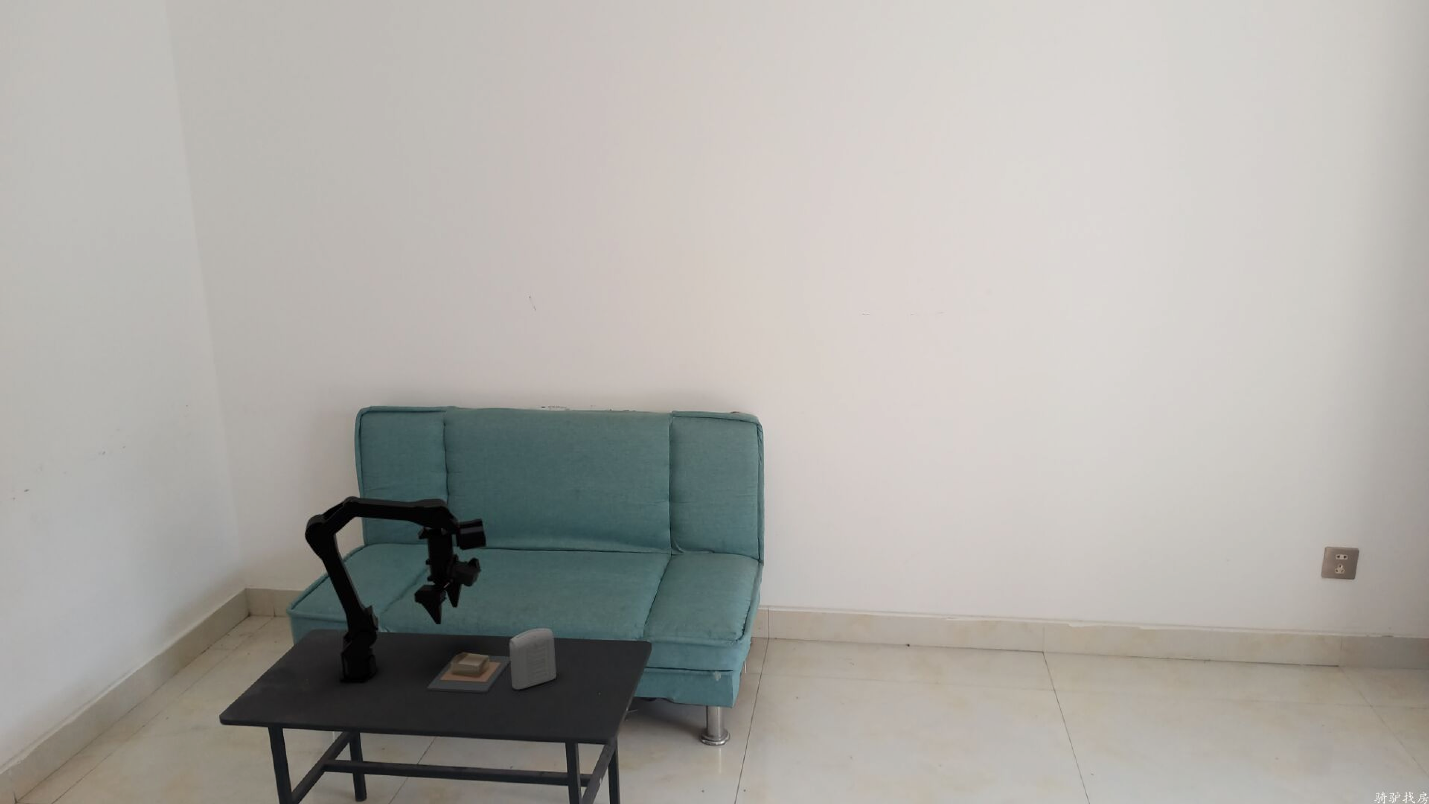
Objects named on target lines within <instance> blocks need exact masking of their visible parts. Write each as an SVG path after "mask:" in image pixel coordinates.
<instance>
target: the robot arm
mask: <svg viewBox="0 0 1429 804" xmlns="http://www.w3.org/2000/svg"><path fill="white" fill-rule="evenodd" d="M355 518H366V519H376V520H377V519H378V520H391V521H403V522H409V523H412V524H416V525H417V526H421V527H422V528H421V529H420V530H419V531H418V532H417V537H418V540H426V544H427V546H426V547H427V555H428V557H427V558H426V560H425V566H429V575H428V576H426V580H427V581H426V582H431V583H432V584H422V586H420V587H419V588H418V589H417V590H416V591H415V593H414V594H413V597H414V603H416V604H417V603H418V604H419V605H421V606H422V608H424V609H425V610H426V612H427V613H428V615H429V616H430V617H431V619H432V621H433V622H434V623H435V625H441V624H442V617H443V616H442V614H443V612H442V609H443V603H444V602H445V601H446V600H447V599H448V600H449V602H450V604H451V607H452V608H456V609H457V608H458V606H459V603H460V602H459V600H460V596H461V590H462V587H463V585H464V587H468V588H469V587H472V586H473V585H474V584H475V583H476V582H477V580H478V578H479V574H480V573H481V572H482V569H481V566H480V564H481V563H480V560H479V558H477V557H474V556H473V557H472V558H471V559H470V560H468V561H467V560H465V561H461V560H460V558H459V556H460V555H458V553H455V552H454V543H453V541H454V542H455V547H456V548H459V549H460V550H461V552H462V551H468V550H475V549H482V548H483V549H484V548H486V547H487V539H486V538H487V537H486V534H485V529H484V524H483V523H484V522H483V520H482V518H476V519H473V520H466V521H459V520H458V519H457V517H456V516H454V514H452V513H451V511H450V508H449V505H448V503H447V502H446V501H445V500H444V499H442V498H436V497H435V498H425V499H424V498H422V499H419V500H415V501H405V500H404V501H403V500H391V499H390V500H389V499H380V498H379V499H378V498H369V497H368V498H367V497H359V496H355V495H351V496H350V495H349V496H348V497H345V499H343V500H342V501H341V502H340V503H337V504H336V505H335V504H334V506H331V507H330V508H328V509H327V510H326V511H324V512H323V513H319V514H315V515H313V516H312V517H310V518H309V519H308V520H307V521H306V526H305V530H304V531H305V532H304V539H305V541H306V543H307V544H308V545H309V547H310V548H311V550H312V551H313V553H314V554H315V555H316V556H317V557H318V558H319V559H320V560H321V561H322V564H323V566H324V567H325V571H326V572H327V576H328V577H329V580H330V582H331V585H332V586H333V588H334V590H335V593H336V595H337V598H338V600H339V603H340V605H341V607H342V609H343V611H344V613H345V620H346V625H347V632H346V633H345V634H344V635H343V636H342V638H341V640H342V641H341V652H340V660H341V667H342V669H341V670H342V675H341V676H340V678H339V681H340V682H352V683H354V682H355V683H366V682H368V680H369V679H370V678H371V677H372V676H373V675H375V673H377V671H378V670H379V666H377V661H376V655H375V654H374V651H373V647H372V646H373V645H374V644H375V643H376V641H377V639H378V631H379V630H380V629H379V628H380V627H379V618H378V617H377V616H376V614H375V612H374V607H373V605H372V604H370V605H369V606H368V607H366V606H365V605H364V604H363V603H362V601H361V598H360V597H359V594H358V592H357V589H356V587H355V585H354V583H353V582H354V581H353V580H352V578H351V575H350V573H349V571H348V569H347V566H346V564H345V562H344V559H343V557H342V555H341V553H340V550H339V545H338V538H337V533H339V532H340V531H341V530H343V528H344V527H346V525H348V524H349V523H350V521H352V520H354V519H355ZM453 535H454V540H453Z"/></svg>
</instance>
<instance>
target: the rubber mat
mask: <svg viewBox="0 0 1429 804" xmlns="http://www.w3.org/2000/svg"><path fill="white" fill-rule="evenodd" d="M460 654H461V653H460ZM460 654H455V655H454V657H452V659H451V660H450V661H449V662H448V663H447V664H446V665H445V666H444V667H443V668H442V670H441V671H440V672H439V673H438V675H437V676H436V677H435V678H434V679H433V680H432V681H431V682H430V684H429V685H428V686H427V687H426V691H435V692H453V693H454V692H455V693H472V694H473V693H475V694H476V693H477V694H487V693H489V691H490V689H491V688H492V687H493V685H494V684H495V683H496V681H498V679H499V678H500V676H501V675H502V674H503V672H504V671H505V670H506V668H507V667H508V666H509V665H510V664H511V662H510V656H503V655H488V656H489V662H490V668H489V669H488V670H487V671H486V672H485V673H484V674H483V675H482V676H480V677H479V678H474V677H466V676H459V675H452V673H451V662H452V661H453V660H454V659H455V658H456V657H458V656H459V655H460ZM507 665H508V666H507ZM504 669H505V670H504ZM501 673H502V674H501Z"/></svg>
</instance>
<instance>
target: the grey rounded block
mask: <svg viewBox="0 0 1429 804" xmlns="http://www.w3.org/2000/svg"><path fill="white" fill-rule="evenodd" d="M508 645H509V657H510V661H511V662H510V673H511V686H512V688H513V689H514V690H518V691H519V690H523V689H526V688H530V687H533V686H536V685H539V684H543V683H546V682H549V681H552V680H554V679H556V678H557V669H556V667H557V666H556V655H555V652H556V651H555V638H554V634H553V631H552V630H551V629H550V628H543V627H541V628H533V629H529V630H526V631H524V632H521V633H519V634H517V635H516V636H514V637H512V638H510V639H509V644H508Z"/></svg>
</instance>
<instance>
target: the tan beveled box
mask: <svg viewBox="0 0 1429 804" xmlns="http://www.w3.org/2000/svg"><path fill="white" fill-rule="evenodd" d="M489 656H490V655H486V654H478V653H470V652H465V651H463V652H461V653H460V655H459V656H458V657H456V658H455V659H454V660H453V661H452V662H451V673H452V675H459V676H466V677H474V678H479V677H480V676H482V675H483V674H484V673H485V672H486V671H487V670H488V669H489V668H490V662H489Z"/></svg>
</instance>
